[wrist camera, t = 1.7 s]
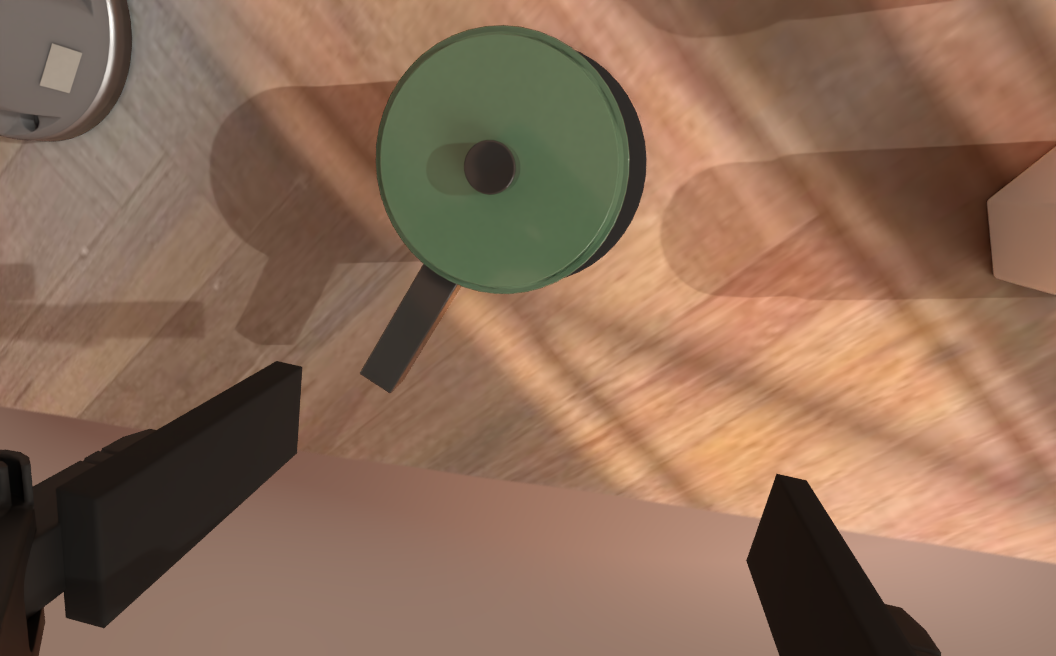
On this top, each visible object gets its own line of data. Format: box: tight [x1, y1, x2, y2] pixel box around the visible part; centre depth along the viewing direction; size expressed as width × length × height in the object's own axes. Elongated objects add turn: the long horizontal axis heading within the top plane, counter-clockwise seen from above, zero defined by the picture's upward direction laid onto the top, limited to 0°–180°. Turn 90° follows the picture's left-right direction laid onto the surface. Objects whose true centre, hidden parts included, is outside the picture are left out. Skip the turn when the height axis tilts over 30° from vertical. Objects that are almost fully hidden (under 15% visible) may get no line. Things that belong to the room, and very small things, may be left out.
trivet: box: [564, 51, 646, 278], centre depth 35 cm, size 14×14×1 cm
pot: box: [360, 25, 629, 393], centre depth 30 cm, size 12×19×11 cm, turn 147°
